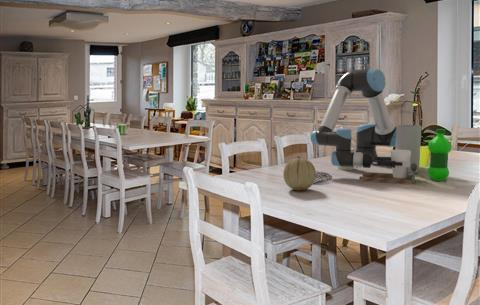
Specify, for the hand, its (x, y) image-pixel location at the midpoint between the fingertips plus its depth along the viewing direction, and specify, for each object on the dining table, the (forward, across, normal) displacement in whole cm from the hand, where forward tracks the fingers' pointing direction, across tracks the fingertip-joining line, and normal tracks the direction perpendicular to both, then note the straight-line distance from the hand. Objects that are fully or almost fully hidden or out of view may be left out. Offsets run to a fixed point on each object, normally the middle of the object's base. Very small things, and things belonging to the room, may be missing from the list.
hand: (410, 162), depth 220 cm
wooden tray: (-10, 0, -9) cm, 13 cm away
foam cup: (-4, 0, -8) cm, 9 cm away
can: (-34, -24, -9) cm, 43 cm away
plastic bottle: (+13, -9, -9) cm, 18 cm away
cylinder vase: (-2, -26, -9) cm, 28 cm away
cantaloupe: (-46, +37, -10) cm, 59 cm away
